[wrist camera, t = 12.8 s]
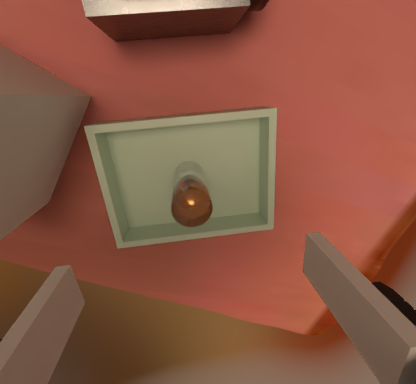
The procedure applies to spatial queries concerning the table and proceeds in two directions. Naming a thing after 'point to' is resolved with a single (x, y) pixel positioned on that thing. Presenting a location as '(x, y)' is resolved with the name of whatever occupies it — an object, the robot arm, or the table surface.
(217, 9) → the block
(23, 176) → the grey box
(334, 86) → the table surface
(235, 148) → the tray
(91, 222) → the table surface
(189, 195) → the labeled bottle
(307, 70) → the table surface
